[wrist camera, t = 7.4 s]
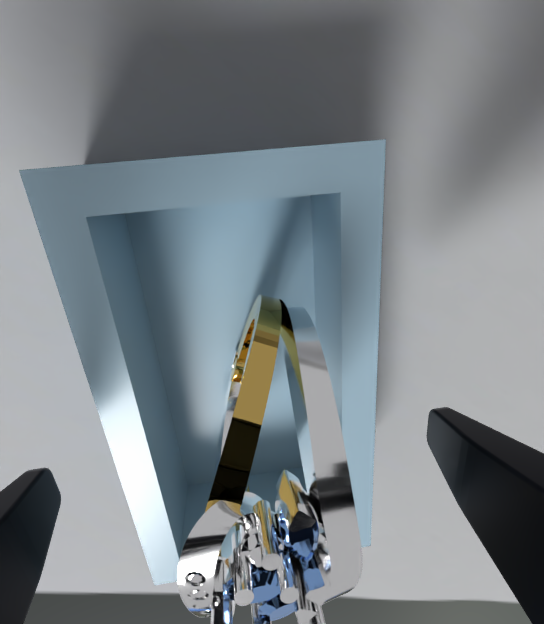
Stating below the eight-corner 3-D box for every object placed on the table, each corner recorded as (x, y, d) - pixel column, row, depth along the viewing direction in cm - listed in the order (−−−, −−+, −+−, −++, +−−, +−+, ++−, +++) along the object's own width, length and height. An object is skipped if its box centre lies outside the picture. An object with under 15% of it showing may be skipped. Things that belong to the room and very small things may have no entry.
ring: (223, 253, 11) (233, 423, 4) (318, 278, 12) (478, 459, 5) (178, 431, 13) (131, 751, 6) (261, 442, 14) (306, 740, 7)
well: (338, 147, 11) (385, 139, 8) (340, 468, 16) (370, 545, 13) (82, 168, 10) (18, 170, 7) (169, 497, 15) (154, 585, 12)
